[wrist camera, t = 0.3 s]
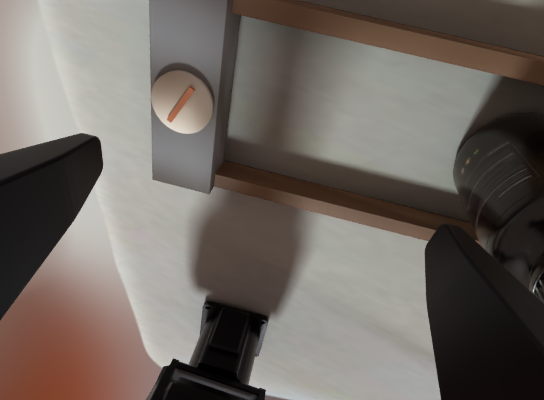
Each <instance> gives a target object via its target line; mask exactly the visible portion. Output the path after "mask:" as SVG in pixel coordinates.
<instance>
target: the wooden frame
mask: <svg viewBox="0 0 544 400" xmlns="http://www.w3.org/2000/svg"><path fill="white" fill-rule="evenodd" d="M240 15H243V16H247V17H251V18H256V19H260V20H264V21H269V22H273V23H277V24H282V25H286V26H290V27H295V28H299V29H303V30H307V31H312V32H316V33H320V34H325V35H329V36H333V37H338V38H342V39H346V40H351V41H355V42H359V43H364V44H368V45H372V46H377V47H381V48H385V49H389V50H394V51H398V52H402V53H407V54H411V55H415V56H420V57H424V58H428V59H433V60H437V61H441V62H446V63H450V64H454V65H458V66H463V67H467V68H471V69H476V70H480V71H484V72H489V73H493V74H497V75H502V76H506V77H510V78H515V79H519V80H523V81H528V82H532V83H536V84H540V85H544V57H543V56H539V55H534V54H530V53H525V52H521V51H517V50H512V49H508V48H503V47H499V46H495V45H490V44H486V43H482V42H477V41H473V40H468V39H464V38H460V37H455V36H451V35H446V34H442V33H438V32H433V31H429V30H425V29H420V28H416V27H411V26H407V25H403V24H398V23H394V22H389V21H385V20H381V19H376V18H372V17H368V16H363V15H359V14H354V13H350V12H346V11H341V10H337V9H332V8H328V7H324V6H319V5H315V4H311V3H306V2H302V1H297V0H149V16H150V68H151V120H152V172H153V180H156V181H160V182H164V183H168V184H172V185H176V186H180V187H184V188H188V189H191V190H195V191H199V192H203V193H207V194H210V192H211V190H212V189H213V187H214V186H215V187H218V188H222V189H226V190H230V191H234V192H238V193H242V194H246V195H250V196H254V197H258V198H262V199H265V200H269V201H273V202H277V203H281V204H285V205H289V206H293V207H297V208H301V209H305V210H309V211H313V212H316V213H320V214H324V215H328V216H332V217H336V218H340V219H344V220H348V221H352V222H356V223H360V224H363V225H367V226H371V227H375V228H379V229H383V230H387V231H391V232H395V233H399V234H403V235H407V236H410V237H414V238H418V239H422V240H426V241H429V240H430V239H431V237H432V236H433V234H434V233H435V231H436V230H437V228H438V227H439V226H440V225H441V224H442V223H449V224H453V225H457V226H459V227H461V228H462V229H463V230H464V231H465V232H466V233H467V234H469V235H470V236H471V237H472V238H473V239H474V240H475V241H476V242H477V243H478V244H480V242H479V240H478V237H477V235H476V233H475V230H474V228H473V226H472V224H471V223H469V222H465V221H462V220H458V219H454V218H450V217H446V216H442V215H438V214H434V213H430V212H426V211H422V210H418V209H414V208H410V207H406V206H402V205H398V204H394V203H390V202H386V201H382V200H378V199H374V198H370V197H366V196H362V195H358V194H354V193H350V192H346V191H342V190H338V189H334V188H330V187H326V186H322V185H318V184H314V183H310V182H306V181H302V180H298V179H295V178H291V177H287V176H283V175H279V174H275V173H271V172H267V171H263V170H259V169H255V168H251V167H247V166H243V165H239V164H235V163H231V162H227V161H224V153H225V144H226V135H227V126H228V118H229V109H230V100H231V91H232V82H233V74H234V65H235V56H236V47H237V39H238V30H239V21H240ZM480 245H481V244H480Z"/></svg>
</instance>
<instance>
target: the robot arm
mask: <svg viewBox="0 0 544 400" xmlns="http://www.w3.org/2000/svg"><path fill="white" fill-rule="evenodd" d="M102 169H103V159H102V150H101V142H100V140H99V138H98V137H96V136H92V135H88V134H84V133H80V134H76V135H73V136H68V137H65V138H61V139H57V140H53V141H49V142H45V143H42V144H38V145H34V146H30V147H26V148H22V149H19V150H15V151H11V152H7V153H4V154H0V320H1V319H2V317H3V316H4V315H5V313H6V312H7V311H8V309H9V308H10V307H11V305H12V304H13V303H14V301H15V300H16V298H17V297H18V296H19V294H20V293H21V292H22V290H23V289H24V287H25V286H26V285H27V283H28V282H29V281H30V279H31V278H32V277H33V275H34V274H35V272H36V271H37V270H38V269H39V267H40V266H41V264H42V263H43V262H44V260H45V259H46V258H47V256H48V255H49V254H50V252H51V251H52V250H53V248H54V247H55V246H56V244H57V243H58V241H59V240H60V239H61V237H62V236H63V235H64V233H65V232H66V231H67V229H68V228H69V227H70V225H71V224H72V222H73V221H74V219H75V218H76V216H77V214H78V213H79V211H80V210H81V208H82V206H83V204H84V203H85V201H86V199H87V197H88V195H89V194H90V192H91V190H92V188H93V187H94V185H95V183H96V181H97V180H98V178H99V176H100V174H101V172H102ZM425 276H426V301H427V310H428V317H429V323H430V330H431V336H432V343H433V349H434V356H435V362H436V369H437V375H438V382H439V388H440V395H441V400H544V303H543V302H542V301H541V300H540V299H538V298H537V297H536V296H535V295H534V294H533V293H532V292H531V291H530V290H529V289H528V288H526V287H525V286H524V285H523V284H522V283H521V282H520V281H519V280H518V279H517V278H516V277H514V276H513V275H512V274H511V273H510V272H509V271H508V270H507V269H506V268H505V267H504V266H502V265H501V264H500V263H499V262H498V261H497V260H496V259H495V258H494V257H493V256H492V255H490V254H489V253H488V252H487V251H486V250H485V249H484V248H483V247H482V246H481V245H480V244H478V243H477V242H476V241H475V240H474V239H473V238H472V237H471V236H470V235H469V234H467V233H466V232H465V231H464V230H463V229H462V228H461V227H459V226H457V225H453V224H449V223H442V224H441V225H440V226H439V227H438V228H437V230H436V231H435V233H434V234H433V236H432V237H431V239H430V240H429V242H428V243H427V245H426V248H425ZM267 324H268V318H267V317H265V316H262V315H258V314H254V313H251V312H247V311H243V310H240V309H236V308H232V307H228V306H225V305H221V304H217V303H214V302H210V301H206V302H205V303H204V305H203V311H202V321H201V330H200V337H199V340H198V342H197V345H196V347H195V350H194V352H193V355H192V357H191V360H190V362H189V365H188V364H185V363H182V362H179V360H176V359H174V358H173V360H172V362H171V364H170V365H169V366H164V367H163V369H162V371H161V373H160V375H159V377H158V380H157V382H156V383H155V385H154V387H153V389H152V390H151V392H150V394H149V395H148V397H147V399H146V400H265V391H266V390H265V389H262V388H259V389H258V388H255V387H252V386H249V385H248V384H249V380H250V375H251V371H252V367H253V363H254V359H255V357H257V356H259V353H260V349H261V346H262V342H263V339H264V335H265V332H266V328H267Z"/></svg>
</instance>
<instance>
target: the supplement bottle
mask: <svg viewBox="0 0 544 400" xmlns="http://www.w3.org/2000/svg"><path fill="white" fill-rule="evenodd" d="M453 177H454V182H455V186H456V189H457V191H458V194H459V196H460V199H461V201H462V203H463V206H464V208H465V210H466V212H467V215H468V217H469V219H470V221H471V224H472V226H473V228H474V230H475V233H476V235H477V237H478V240H479V242H480V244H481V246H482V247H483V248H484V249H485V250H486V251H487V252H488V253H489V254H490V255H492V256H493V257H494V258H495V259H496V260H497V261H498V262H499V263H500V264H501V265H502V266H504V267H505V268H506V269H507V270H508V271H509V272H510V273H511V274H512V275H513V276H514V277H516V278H517V279H518V280H519V281H520V282H521V283H522V284H523V285H524V286H525V287H526V288H528V289H529V290H530V291H531V292H532V293H533V294H534V295H535V296H536V297H537V298H538V299H540V300H541V301H542V302H543V303H544V114H540V113H519V114H513V115H509V116H506V117H502V118H500V119H497V120H495V121H493V122H491V123H489V124H487V125H485V126H484V127H482V128H481V129H479V130H478V131H477V132H475V133H474V134H473V135H472V136H471V137H470V138H469V139H468V140H467V141H466V142H465V144H464V145H463V146H462V148H461V149H460V151H459V153H458V155H457V157H456V160H455V164H454V169H453Z"/></svg>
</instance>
